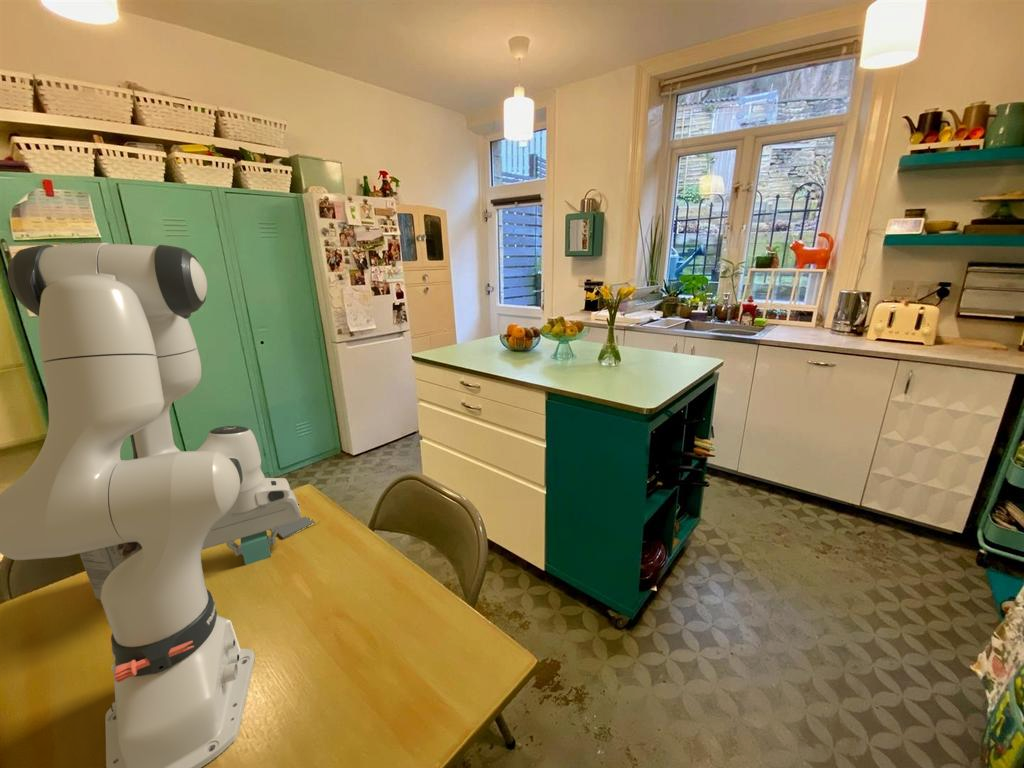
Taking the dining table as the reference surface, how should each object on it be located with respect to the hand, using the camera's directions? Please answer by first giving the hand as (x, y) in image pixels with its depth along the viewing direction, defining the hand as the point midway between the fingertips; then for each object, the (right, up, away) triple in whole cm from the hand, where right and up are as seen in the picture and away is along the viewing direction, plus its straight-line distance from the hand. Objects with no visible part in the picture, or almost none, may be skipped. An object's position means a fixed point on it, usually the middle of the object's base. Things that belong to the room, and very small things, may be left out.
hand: (256, 548), depth 96 cm
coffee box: (-22, -5, -8) cm, 23 cm away
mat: (+1, +2, +13) cm, 13 cm away
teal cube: (0, -2, 0) cm, 2 cm away
